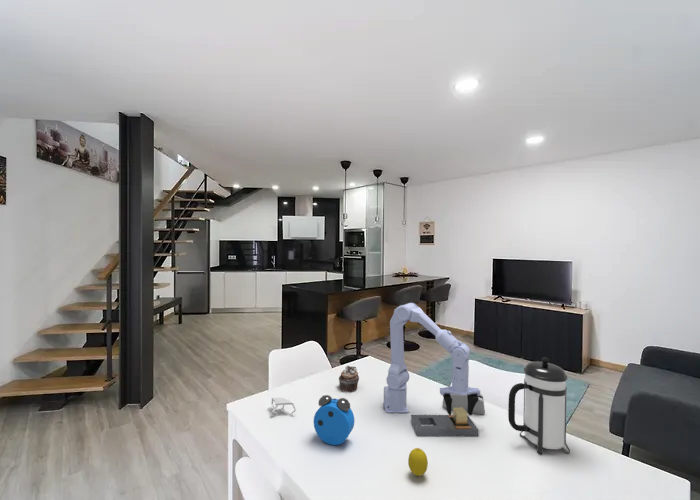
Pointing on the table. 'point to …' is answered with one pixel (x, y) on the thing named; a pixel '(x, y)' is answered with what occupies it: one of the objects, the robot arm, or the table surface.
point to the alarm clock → (333, 420)
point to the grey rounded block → (466, 403)
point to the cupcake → (349, 379)
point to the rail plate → (442, 426)
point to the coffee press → (542, 405)
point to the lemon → (417, 462)
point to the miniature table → (281, 402)
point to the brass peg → (459, 417)
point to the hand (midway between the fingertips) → (459, 413)
